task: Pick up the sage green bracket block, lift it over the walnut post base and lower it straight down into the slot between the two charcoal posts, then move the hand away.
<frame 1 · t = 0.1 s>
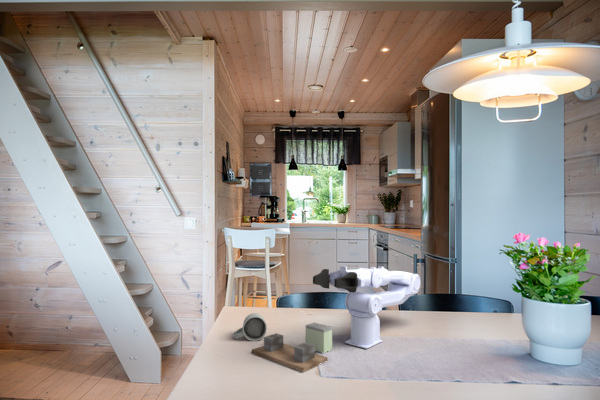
hand: (324, 281, 107), 22 cm above the table, tool horizontal, fingers open, 7 cm apart
ceramic mug: (250, 338, 126), on the table
bracket block: (318, 349, 116), on the table
post base: (288, 357, 109), on the table
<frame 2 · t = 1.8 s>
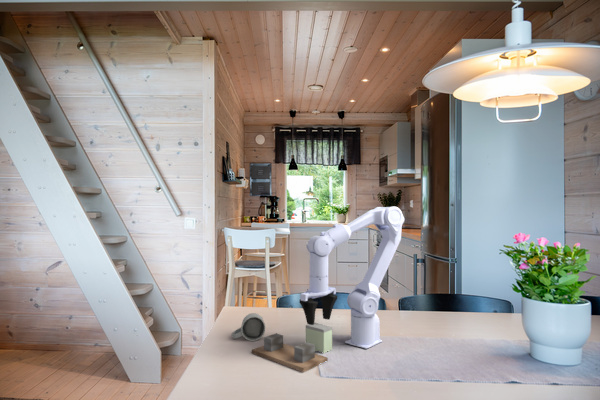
hand: (318, 321, 116), 8 cm above the table, tool pointing down, fingers open, 7 cm apart
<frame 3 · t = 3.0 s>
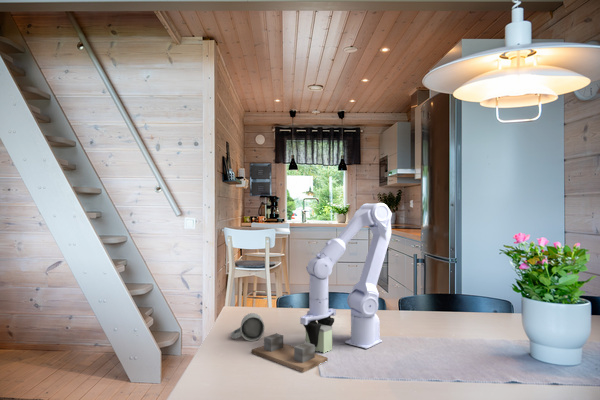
hand: (318, 343, 116), 1 cm above the table, tool pointing down, fingers closed on bracket block, 4 cm apart
bracket block: (318, 348, 116), on the table, touching gripper
everything else where it was.
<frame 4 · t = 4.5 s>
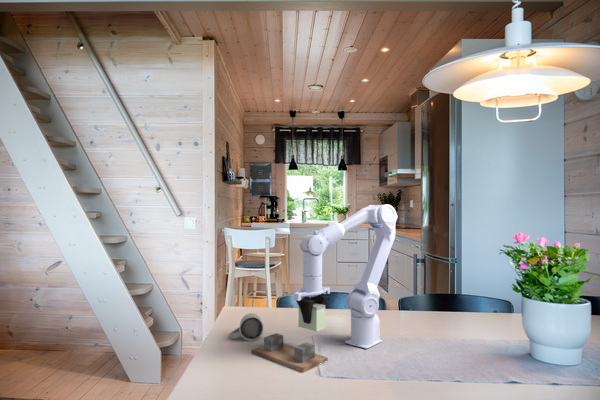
hand: (312, 321, 114), 9 cm above the table, tool pointing down, fingers closed on bracket block, 4 cm apart
bracket block: (311, 327, 114), point 7 cm above the table, touching gripper
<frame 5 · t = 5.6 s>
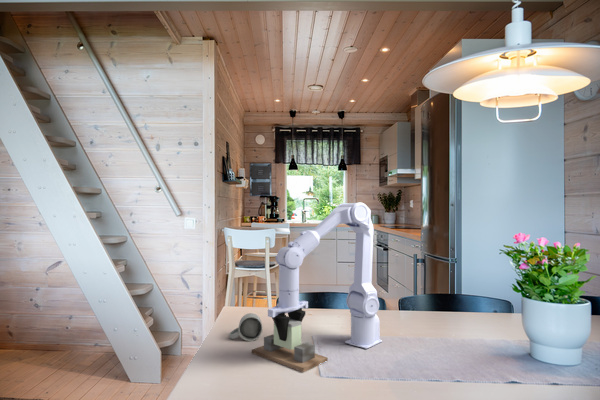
hand: (288, 338, 109), 5 cm above the table, tool pointing down, fingers closed on bracket block, 4 cm apart
bracket block: (287, 345, 109), point 3 cm above the table, touching gripper
when the fingers open (3 cm above the table, at t = 6.3 s): bracket block stays where it is, resting on post base.
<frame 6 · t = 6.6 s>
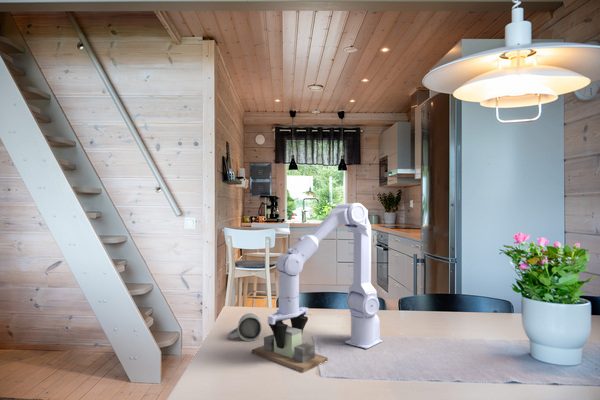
hand: (288, 344, 109), 3 cm above the table, tool pointing down, fingers open, 6 cm apart
bracket block: (287, 353, 109), point 1 cm above the table, touching post base
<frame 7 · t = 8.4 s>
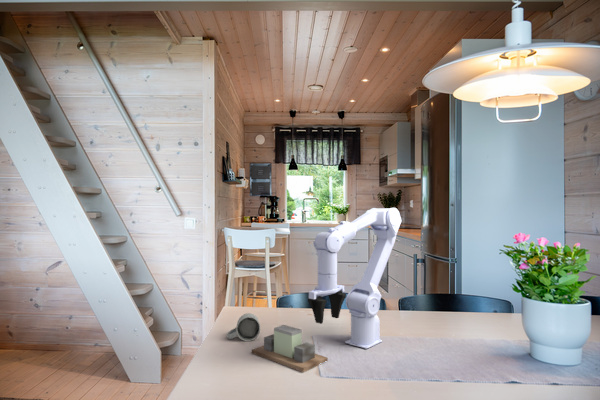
hand: (327, 320, 113), 9 cm above the table, tool pointing down, fingers open, 7 cm apart
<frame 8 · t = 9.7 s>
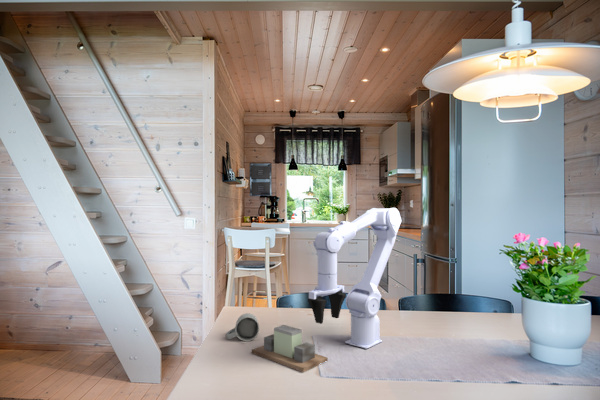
hand: (327, 320, 113), 9 cm above the table, tool pointing down, fingers open, 7 cm apart
at the end: bracket block 0.4 cm off-centre on the post base, point 1.0 cm above the post base's base; bracket block tilted 0°; the gripper is holding nothing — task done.
